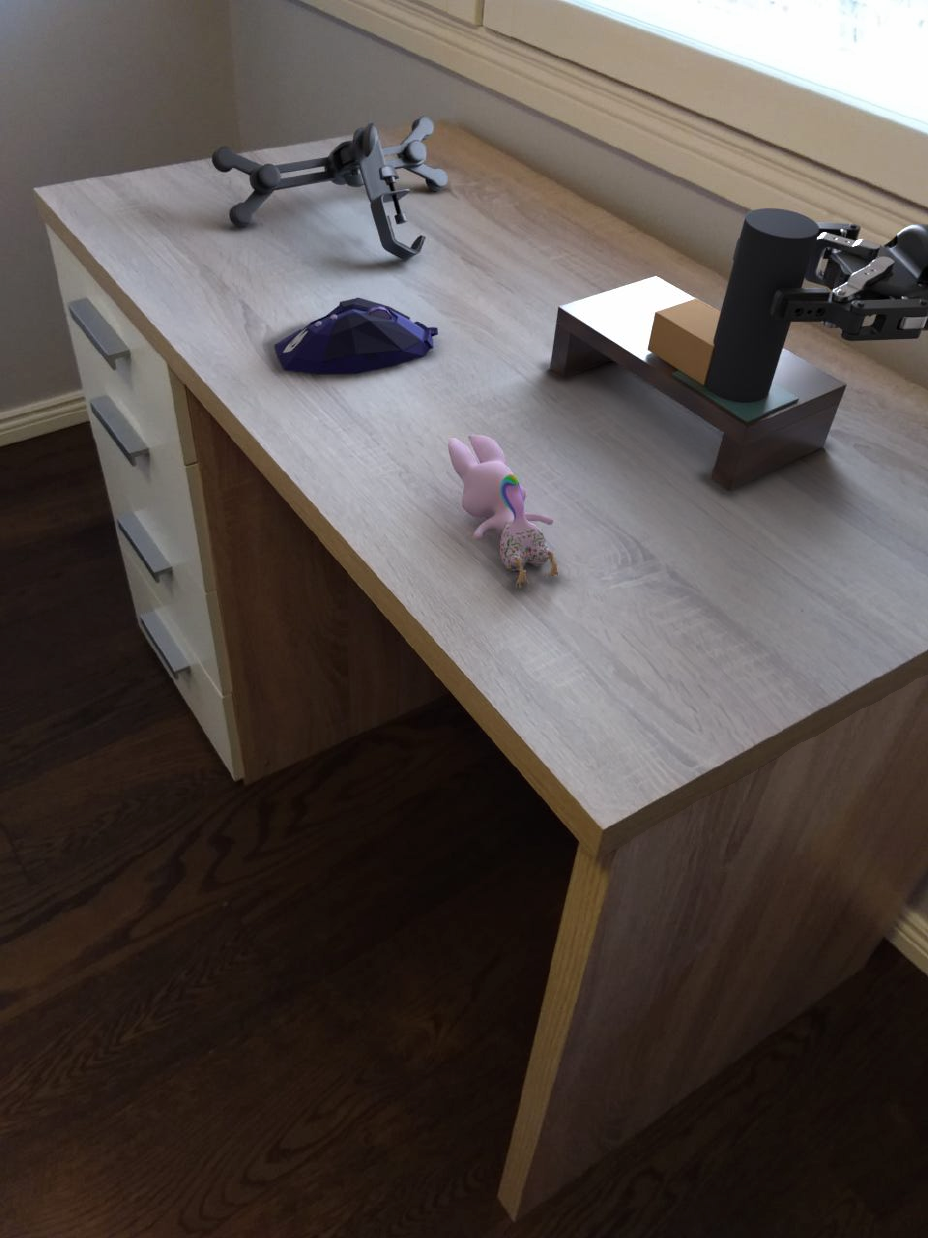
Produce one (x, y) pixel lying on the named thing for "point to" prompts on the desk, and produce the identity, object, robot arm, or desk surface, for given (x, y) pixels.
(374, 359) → the computer mouse
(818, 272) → the robot arm
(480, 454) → the rabbit figure
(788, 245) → the cylinder with tan block
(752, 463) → the low wooden bench
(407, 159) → the tablet mount
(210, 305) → the desk surface
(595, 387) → the desk surface
